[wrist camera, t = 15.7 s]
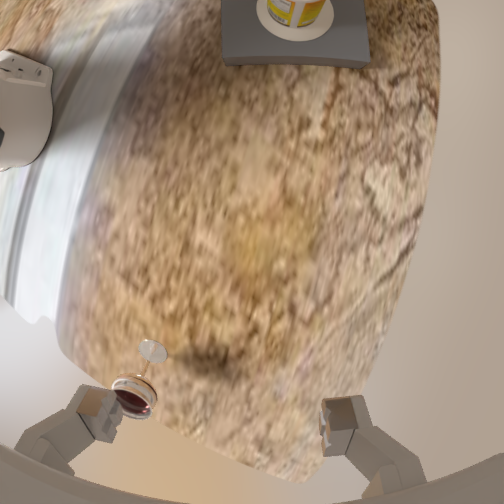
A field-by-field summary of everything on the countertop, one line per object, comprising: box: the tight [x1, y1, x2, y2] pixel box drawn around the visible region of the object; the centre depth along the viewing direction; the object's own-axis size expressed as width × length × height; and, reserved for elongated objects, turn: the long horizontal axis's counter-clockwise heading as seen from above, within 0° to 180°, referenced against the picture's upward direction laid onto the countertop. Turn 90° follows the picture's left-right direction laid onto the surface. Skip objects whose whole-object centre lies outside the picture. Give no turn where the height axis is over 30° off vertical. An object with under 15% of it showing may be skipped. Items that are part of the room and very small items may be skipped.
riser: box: [221, 0, 370, 69], centre depth 26 cm, size 16×12×4 cm
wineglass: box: [111, 340, 167, 420], centre depth 40 cm, size 7×7×12 cm
